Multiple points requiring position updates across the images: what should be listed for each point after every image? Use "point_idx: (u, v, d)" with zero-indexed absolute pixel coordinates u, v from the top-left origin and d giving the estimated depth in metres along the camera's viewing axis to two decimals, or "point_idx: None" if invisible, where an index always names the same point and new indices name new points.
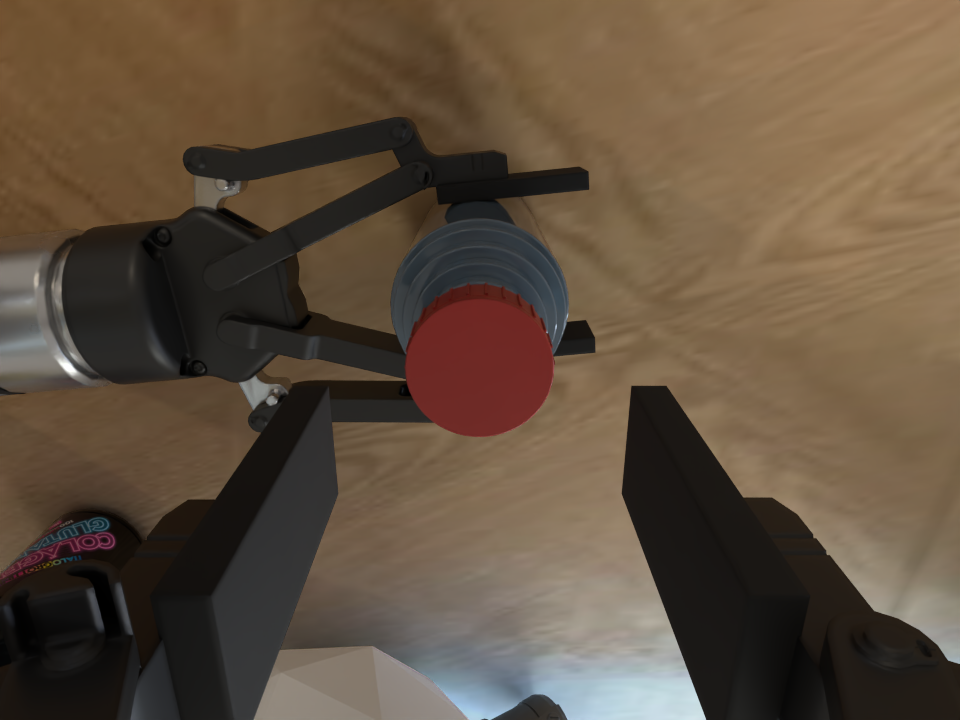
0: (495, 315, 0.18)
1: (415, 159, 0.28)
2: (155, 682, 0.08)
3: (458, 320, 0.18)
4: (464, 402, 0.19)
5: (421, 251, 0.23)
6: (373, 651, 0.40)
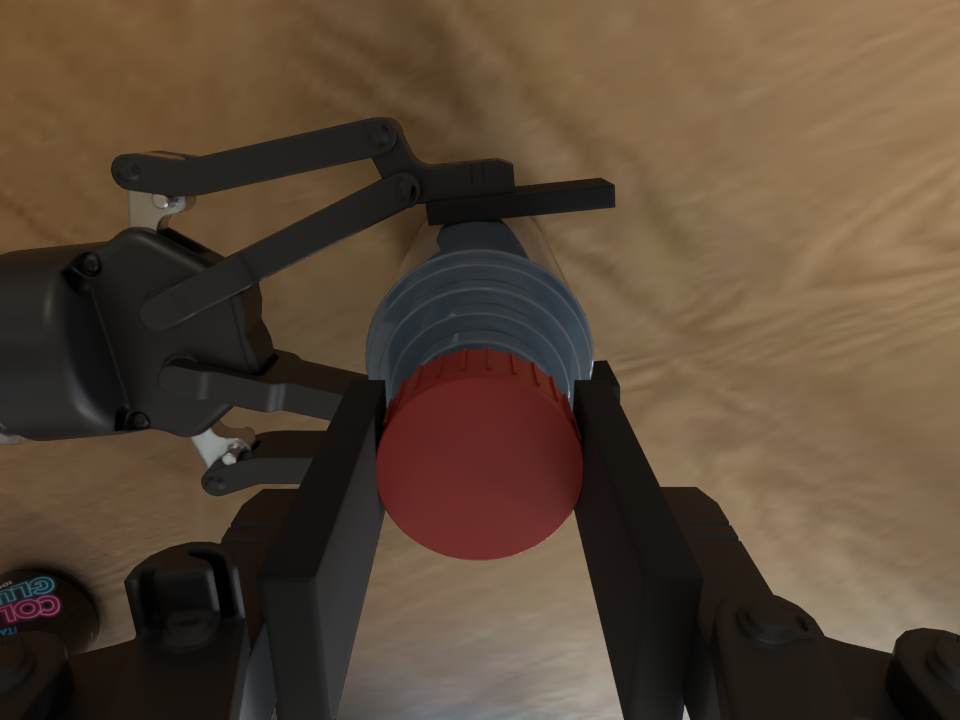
0: (502, 400, 0.12)
1: (400, 169, 0.22)
2: (260, 660, 0.08)
3: (449, 407, 0.13)
4: (458, 516, 0.13)
5: (403, 293, 0.17)
6: None
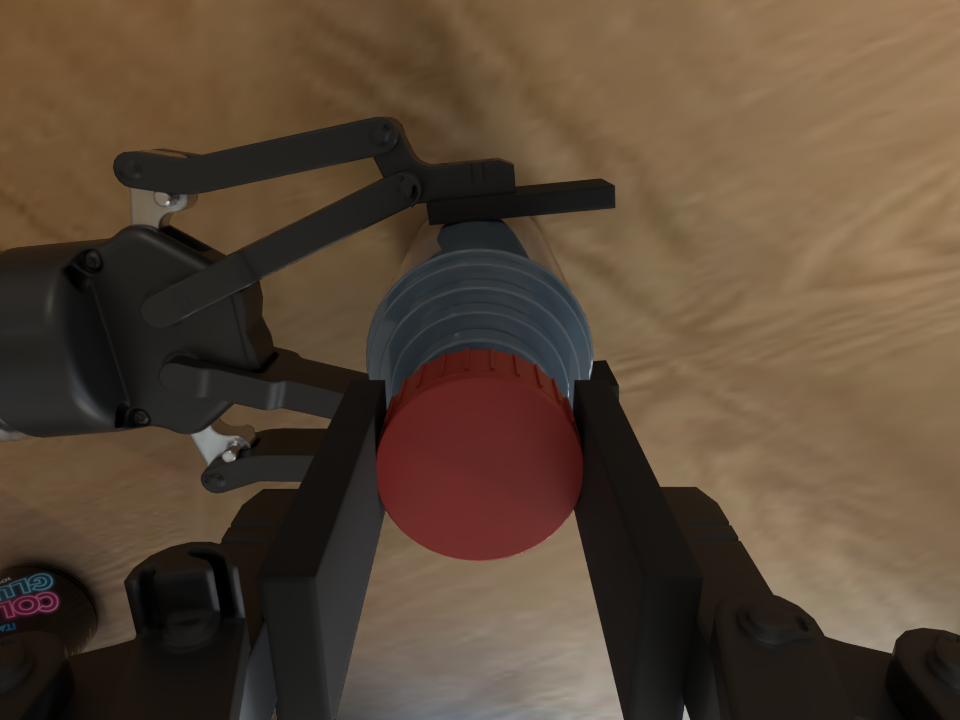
0: (396, 462, 0.13)
1: (401, 169, 0.23)
2: (260, 660, 0.08)
3: (409, 505, 0.13)
4: (529, 490, 0.13)
5: (404, 291, 0.17)
6: None
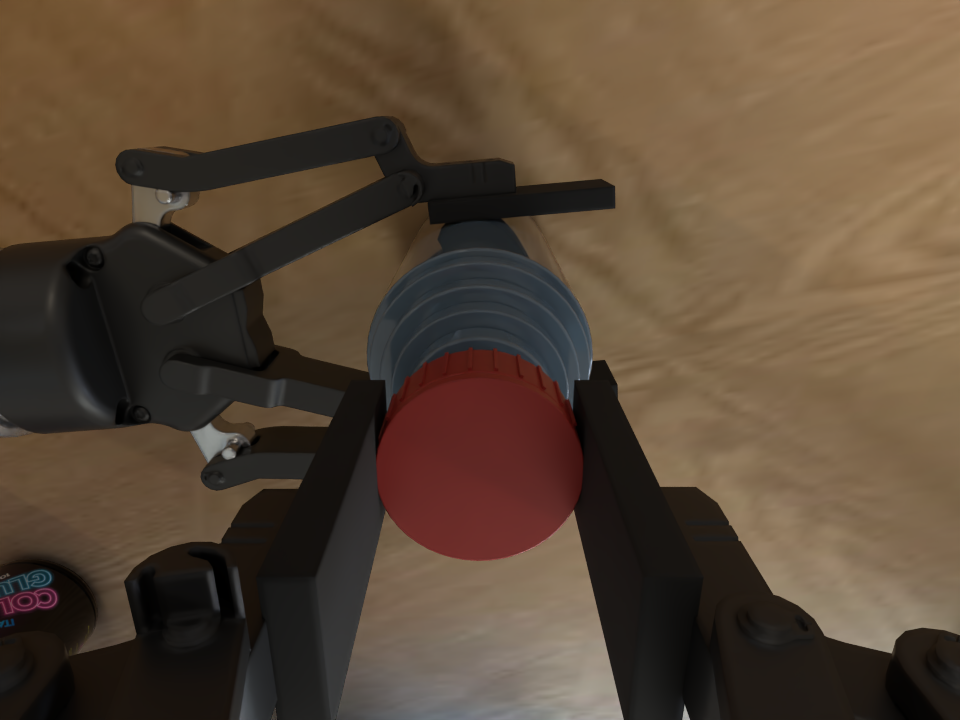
0: (473, 544, 0.14)
1: (402, 168, 0.23)
2: (261, 660, 0.08)
3: (519, 532, 0.14)
4: (492, 428, 0.13)
5: (405, 290, 0.18)
6: None
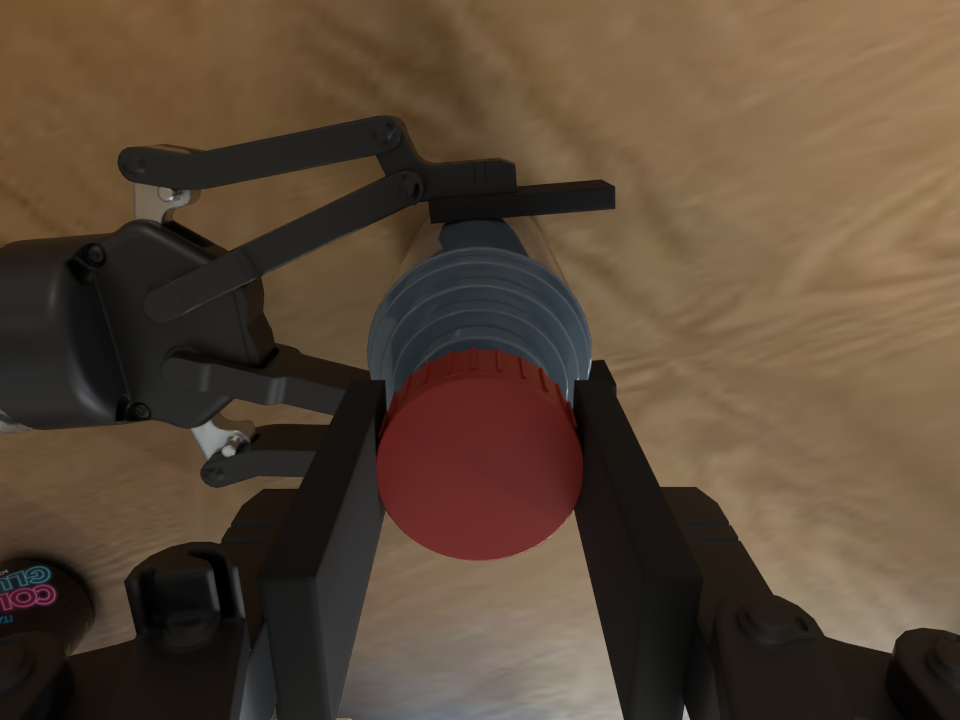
0: (563, 474, 0.13)
1: (403, 167, 0.23)
2: (260, 660, 0.08)
3: (545, 432, 0.13)
4: (426, 468, 0.13)
5: (406, 288, 0.18)
6: None
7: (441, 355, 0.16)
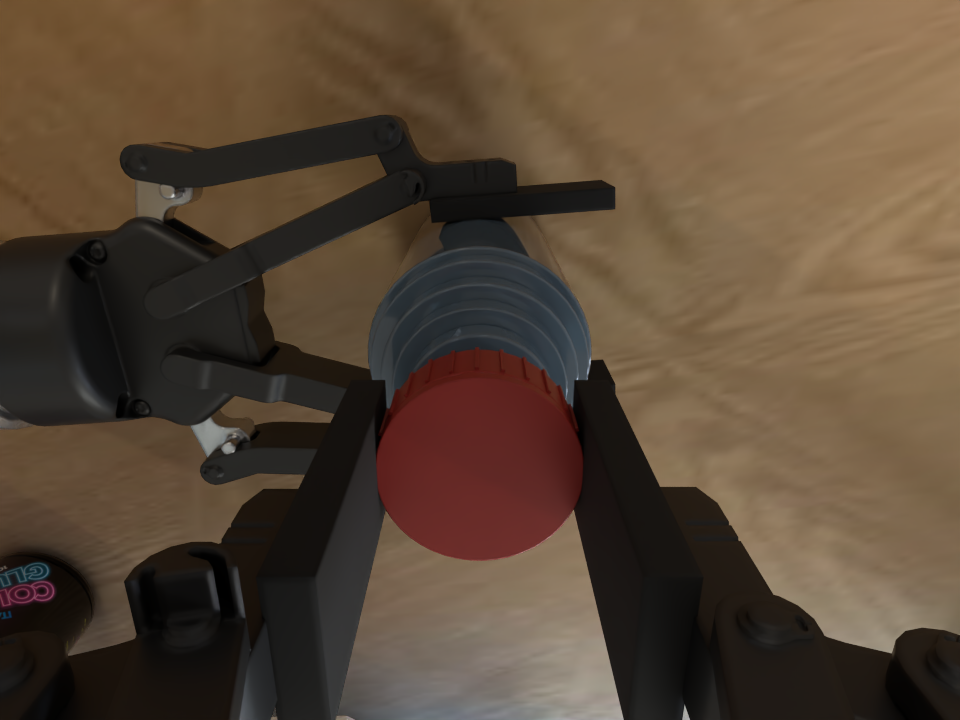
0: (471, 398, 0.12)
1: (405, 167, 0.23)
2: (261, 660, 0.08)
3: (424, 421, 0.13)
4: (476, 520, 0.13)
5: (407, 287, 0.18)
6: None
7: (442, 353, 0.16)
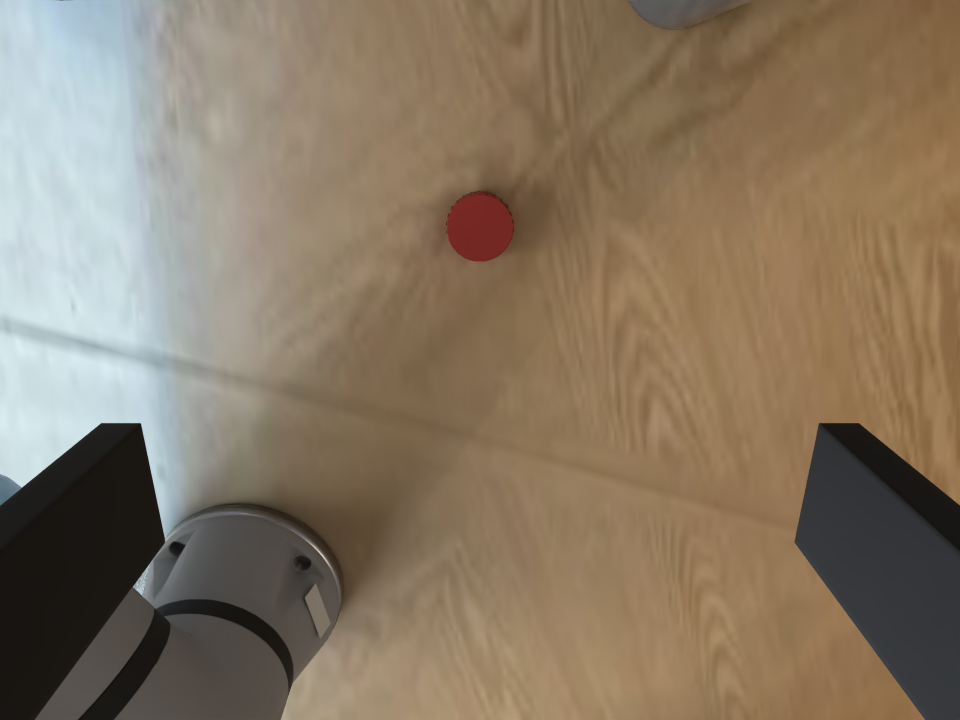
0: (477, 201, 0.41)
1: None
2: None
3: (463, 209, 0.41)
4: (478, 245, 0.42)
5: None
6: None
7: None
